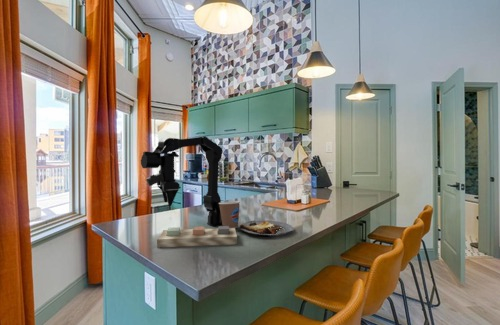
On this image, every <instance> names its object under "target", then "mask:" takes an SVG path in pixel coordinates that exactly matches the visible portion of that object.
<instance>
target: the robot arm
mask: <svg viewBox="0 0 500 325" xmlns="http://www.w3.org/2000/svg"><path fill="white" fill-rule="evenodd" d="M193 146H194V147H195V146H199V147H200V148H201V150H202V151H203V152H204V154H205V159H206V161H207V164H208V166H207V168H208V169H207V192H206V194H204V195H203V196H202V197H203V200H202V201H203V202H202V204H203V206H204V208H205V209H206V212H208V214H207V222H206V224H207V225H209V226H211V227H217V226H223V225H222V219H221V212H220V206H219V205H220V204H219V203H220V202H221V196H220V193H219V190H218V189H219V187H218V186H219V163H220V161H221V159H222V157H223V156H222V155H223V148H222V147H221V146H220V145H218V144H217V143H216V142H214V141H212V140H210V138H208V137H207V136H205V135H204V136H198V137H190V138H189V137H188V138H174V137H167V138H160V139H159V141H158V142H157V146H156V147H155V148H154V150H153V151H143V152H142V155H141V159H140V166H141V168H142V169H159V168H160V169H159V170H158V173H156V174H151V175H150V176H149V177H146V178H145V181H146V183H147V185H148V187H151V186H154V185H156V186H157V188H158V189H159V190H161V195H162V197H163V198H162V199H163V201H164V203H167V204H168V207H171V206H172V204H173V202H174V200H175V199H176V195H177V193H178V192H179V190H180V185H181V184H180V183H179V182H178V181H176V179H175V173H176V169H175V158H179V157H180V155H179V154H178V153H177V152H176V151H178V150H179V149H181V148H187V147H193Z"/></svg>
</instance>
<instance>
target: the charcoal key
mask: <svg viewBox="0 0 500 325" xmlns="http://www.w3.org/2000/svg"><path fill="white" fill-rule="evenodd" d="M217 226H218V227H217V229H218V234H229V226H223V225H217Z"/></svg>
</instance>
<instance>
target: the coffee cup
mask: <svg viewBox="0 0 500 325" xmlns="http://www.w3.org/2000/svg"><path fill="white" fill-rule="evenodd" d="M240 203H241V201H239V200H237V201H222V202H220V203H219V204H220V205H219V206H220V212H221V219H222V225H221V226H229V228H235V229H237V228H239V222H240V221H239V218H240Z"/></svg>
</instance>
